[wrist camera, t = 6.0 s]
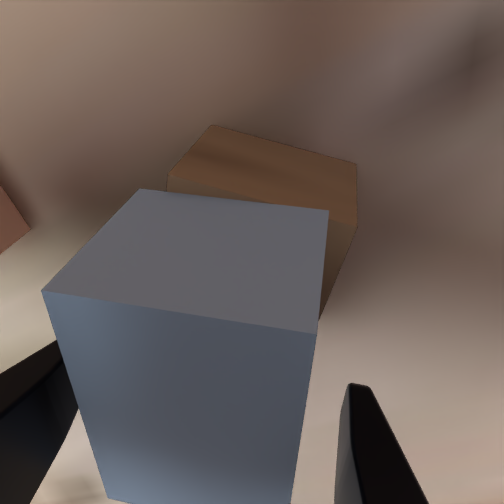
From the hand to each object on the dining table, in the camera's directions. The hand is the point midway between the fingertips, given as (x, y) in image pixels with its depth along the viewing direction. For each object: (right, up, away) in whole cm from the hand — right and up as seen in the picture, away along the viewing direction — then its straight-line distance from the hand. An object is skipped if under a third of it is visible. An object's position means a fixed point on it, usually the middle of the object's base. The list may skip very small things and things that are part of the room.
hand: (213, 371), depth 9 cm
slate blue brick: (0, +1, +2) cm, 2 cm away
